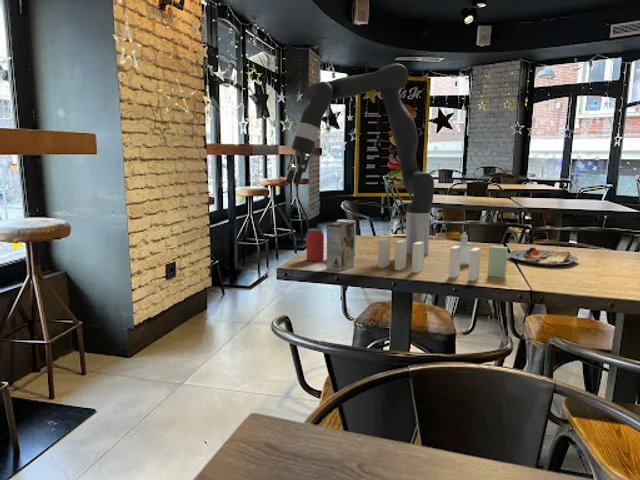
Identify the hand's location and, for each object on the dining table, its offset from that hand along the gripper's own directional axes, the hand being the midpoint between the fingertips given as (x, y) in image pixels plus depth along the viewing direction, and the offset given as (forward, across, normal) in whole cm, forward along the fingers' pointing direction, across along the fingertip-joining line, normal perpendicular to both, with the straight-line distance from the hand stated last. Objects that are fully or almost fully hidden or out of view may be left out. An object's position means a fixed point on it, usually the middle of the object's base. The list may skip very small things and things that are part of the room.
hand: (292, 183), depth 170 cm
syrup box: (+20, +13, -34) cm, 41 cm away
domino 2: (+17, -13, -44) cm, 49 cm away
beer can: (+24, +10, -21) cm, 33 cm away
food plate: (-1, -19, -100) cm, 102 cm away
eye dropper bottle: (+9, -14, -69) cm, 71 cm away
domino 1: (+18, -8, -40) cm, 45 cm away
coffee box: (+24, -5, -25) cm, 35 cm away
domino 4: (+14, -28, -55) cm, 64 cm away
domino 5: (+13, -33, -59) cm, 69 cm away
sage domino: (+10, -33, -68) cm, 77 cm away
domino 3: (+16, -18, -48) cm, 54 cm away
